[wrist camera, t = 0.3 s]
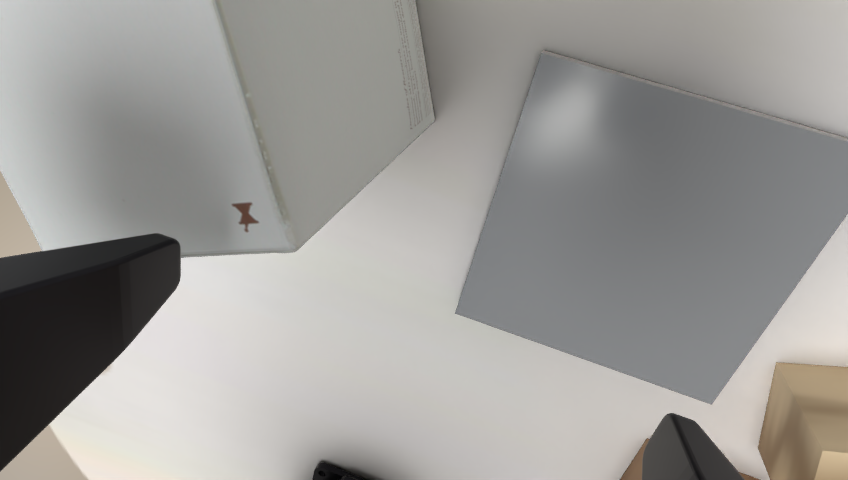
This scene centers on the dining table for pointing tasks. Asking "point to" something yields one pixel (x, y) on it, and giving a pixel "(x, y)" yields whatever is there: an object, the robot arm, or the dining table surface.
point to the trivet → (651, 225)
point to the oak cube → (806, 423)
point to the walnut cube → (634, 471)
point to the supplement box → (203, 115)
